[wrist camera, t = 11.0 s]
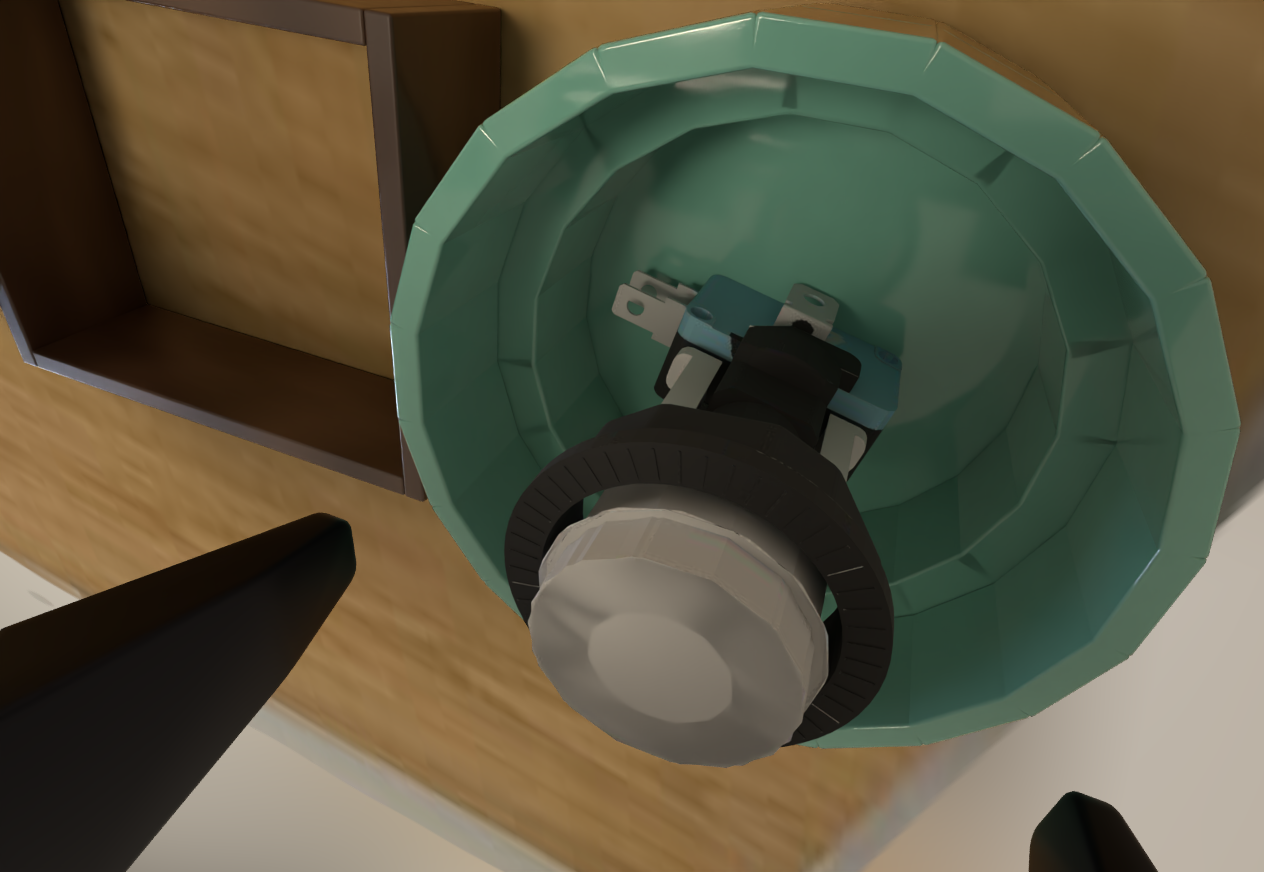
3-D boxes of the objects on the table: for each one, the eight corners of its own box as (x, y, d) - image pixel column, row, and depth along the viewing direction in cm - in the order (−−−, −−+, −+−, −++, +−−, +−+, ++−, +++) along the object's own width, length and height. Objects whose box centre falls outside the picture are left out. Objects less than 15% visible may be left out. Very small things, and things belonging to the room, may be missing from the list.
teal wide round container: (535, 466, 22) (413, 612, 17) (558, -39, 15) (354, -52, 10) (974, 609, 19) (988, 837, 14) (1282, 69, 12) (1550, 135, 7)
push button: (608, 361, 19) (364, 639, 11) (676, 165, 15) (402, 353, 8) (840, 475, 18) (765, 862, 10) (963, 294, 15) (994, 652, 7)
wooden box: (139, 315, 25) (23, 362, 22) (20, -73, 19) (-167, -86, 16) (498, 428, 22) (423, 503, 19) (502, 8, 16) (390, 13, 12)
